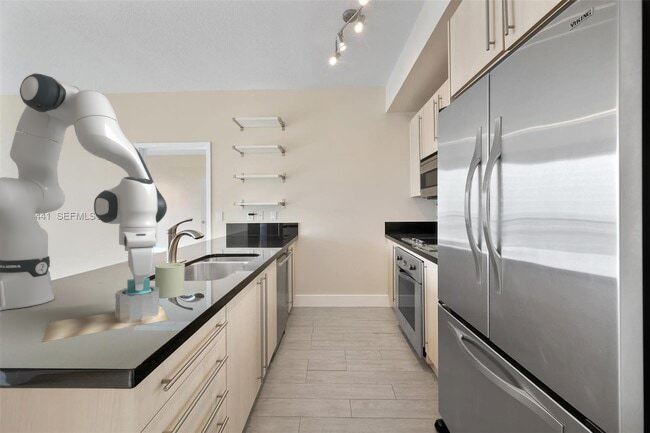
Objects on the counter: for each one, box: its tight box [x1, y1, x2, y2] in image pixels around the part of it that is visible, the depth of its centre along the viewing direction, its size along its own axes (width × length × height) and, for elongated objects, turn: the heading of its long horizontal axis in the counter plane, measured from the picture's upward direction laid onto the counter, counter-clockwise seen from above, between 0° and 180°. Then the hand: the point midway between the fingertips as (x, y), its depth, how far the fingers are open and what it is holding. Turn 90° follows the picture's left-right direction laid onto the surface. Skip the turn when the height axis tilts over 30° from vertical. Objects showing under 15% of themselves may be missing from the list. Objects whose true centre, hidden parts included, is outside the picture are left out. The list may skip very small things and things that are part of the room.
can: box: [154, 262, 186, 299], centre depth 104 cm, size 9×9×12 cm
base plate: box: [41, 305, 170, 343], centre depth 79 cm, size 25×14×2 cm, turn 126°
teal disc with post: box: [125, 277, 151, 295], centre depth 83 cm, size 6×6×4 cm
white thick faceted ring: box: [114, 285, 160, 323], centre depth 83 cm, size 10×10×7 cm
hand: (138, 288), depth 83 cm, fingers open, 3 cm apart
